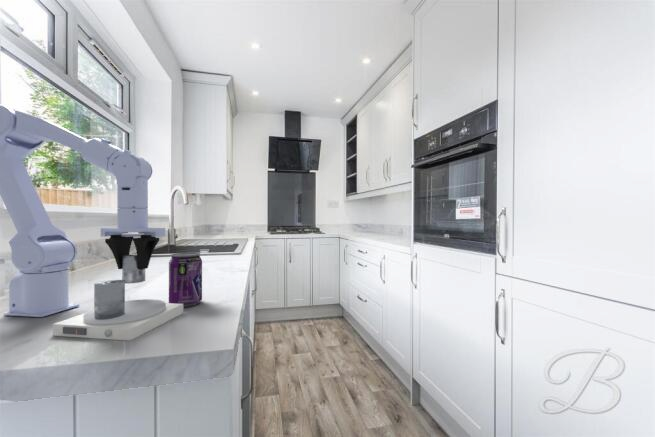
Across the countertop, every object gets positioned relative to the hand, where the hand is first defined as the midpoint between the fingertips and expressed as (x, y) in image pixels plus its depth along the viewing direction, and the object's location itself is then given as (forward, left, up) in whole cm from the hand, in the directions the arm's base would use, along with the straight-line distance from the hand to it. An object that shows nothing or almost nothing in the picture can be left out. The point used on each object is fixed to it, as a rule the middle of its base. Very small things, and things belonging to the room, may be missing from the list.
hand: (133, 268), depth 65 cm
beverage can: (+10, +5, -9) cm, 14 cm away
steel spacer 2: (0, 0, -3) cm, 3 cm away
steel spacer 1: (+6, -12, -6) cm, 15 cm away
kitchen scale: (+6, -8, -9) cm, 14 cm away
